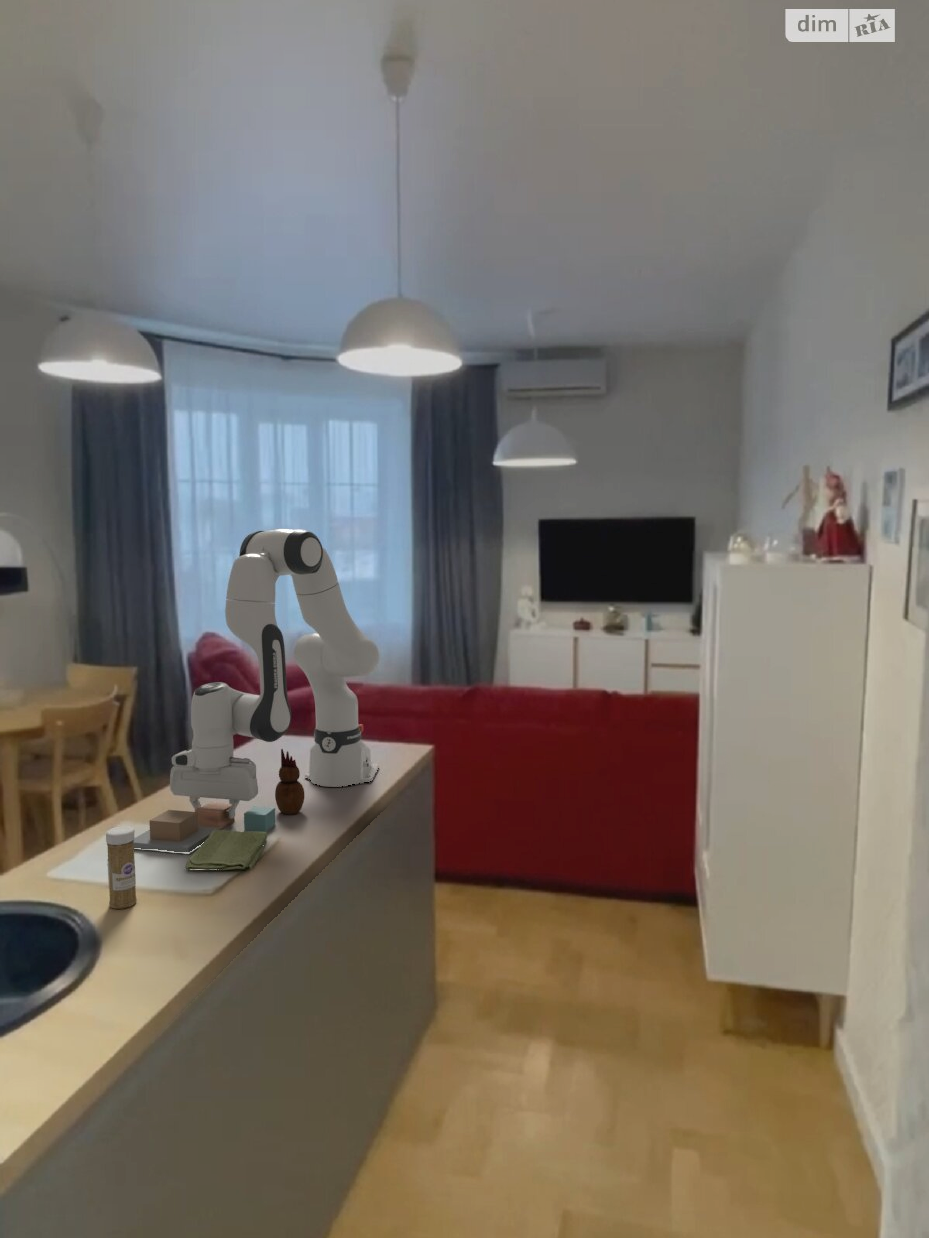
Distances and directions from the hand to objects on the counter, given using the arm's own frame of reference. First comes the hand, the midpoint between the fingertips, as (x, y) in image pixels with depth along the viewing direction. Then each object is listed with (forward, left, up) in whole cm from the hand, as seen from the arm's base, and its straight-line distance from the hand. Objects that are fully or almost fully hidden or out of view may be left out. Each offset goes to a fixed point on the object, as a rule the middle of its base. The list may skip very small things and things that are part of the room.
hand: (215, 816), depth 186 cm
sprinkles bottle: (+41, +6, -2) cm, 41 cm away
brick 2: (0, +11, -2) cm, 11 cm away
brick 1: (0, 0, -2) cm, 2 cm away
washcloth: (+16, +13, -2) cm, 21 cm away
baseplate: (+12, -2, -2) cm, 12 cm away
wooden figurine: (-11, +13, -2) cm, 17 cm away
